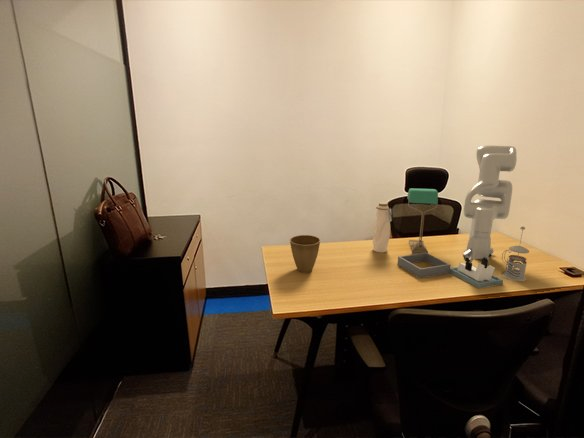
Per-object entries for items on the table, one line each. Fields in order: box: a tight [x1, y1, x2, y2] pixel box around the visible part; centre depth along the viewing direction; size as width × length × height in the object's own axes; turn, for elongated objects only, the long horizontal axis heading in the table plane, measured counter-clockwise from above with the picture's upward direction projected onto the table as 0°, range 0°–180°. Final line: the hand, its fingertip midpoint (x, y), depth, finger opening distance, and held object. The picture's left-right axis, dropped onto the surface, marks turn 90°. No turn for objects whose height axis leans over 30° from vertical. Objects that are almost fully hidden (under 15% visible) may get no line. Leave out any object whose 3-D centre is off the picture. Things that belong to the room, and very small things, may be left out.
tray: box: [449, 264, 504, 289], centre depth 163 cm, size 14×19×2 cm
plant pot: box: [289, 234, 321, 273], centre depth 171 cm, size 15×15×16 cm
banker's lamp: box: [406, 187, 439, 254], centre depth 199 cm, size 16×21×35 cm
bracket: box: [457, 262, 496, 282], centre depth 162 cm, size 13×7×8 cm, turn 15°
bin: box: [397, 252, 451, 279], centre depth 173 cm, size 18×18×4 cm
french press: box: [501, 226, 530, 282], centre depth 162 cm, size 10×12×25 cm
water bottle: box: [372, 201, 393, 253], centre depth 196 cm, size 10×9×28 cm
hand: (475, 268), depth 162 cm, fingers open, 9 cm apart
